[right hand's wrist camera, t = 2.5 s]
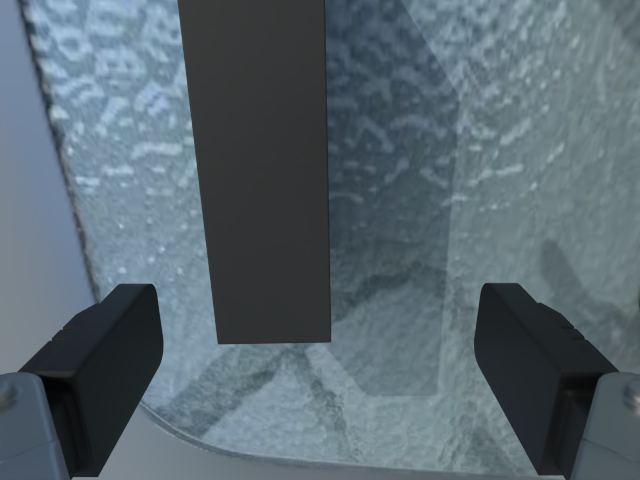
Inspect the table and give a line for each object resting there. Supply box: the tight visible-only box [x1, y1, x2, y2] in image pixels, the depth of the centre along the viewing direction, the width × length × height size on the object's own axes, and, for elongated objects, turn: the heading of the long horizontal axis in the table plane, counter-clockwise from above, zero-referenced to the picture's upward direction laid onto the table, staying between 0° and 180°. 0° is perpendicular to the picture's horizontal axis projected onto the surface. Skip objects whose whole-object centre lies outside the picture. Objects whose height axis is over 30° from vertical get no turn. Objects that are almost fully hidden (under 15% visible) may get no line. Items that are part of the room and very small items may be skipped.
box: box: [178, 0, 331, 344], centre depth 25 cm, size 25×6×12 cm, turn 1°
